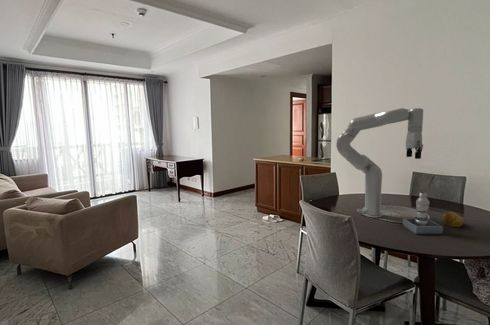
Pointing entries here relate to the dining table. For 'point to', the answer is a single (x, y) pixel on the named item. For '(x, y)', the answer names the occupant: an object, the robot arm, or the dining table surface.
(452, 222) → the bread roll
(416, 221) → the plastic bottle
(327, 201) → the dining table surface
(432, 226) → the tray
